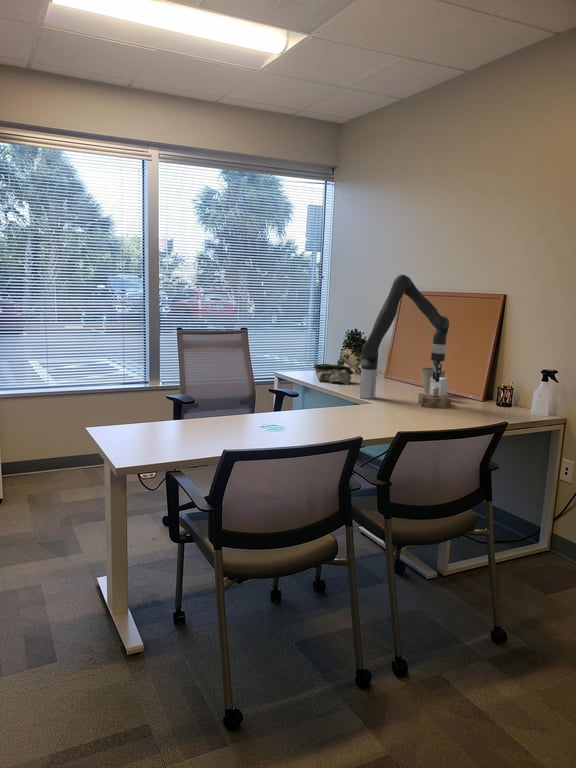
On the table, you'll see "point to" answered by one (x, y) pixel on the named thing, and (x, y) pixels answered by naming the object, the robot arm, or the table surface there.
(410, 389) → the table surface
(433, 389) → the beech peg
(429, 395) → the walnut board
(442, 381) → the small box
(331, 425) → the table surface
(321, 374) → the mossy rock
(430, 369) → the plant pot
